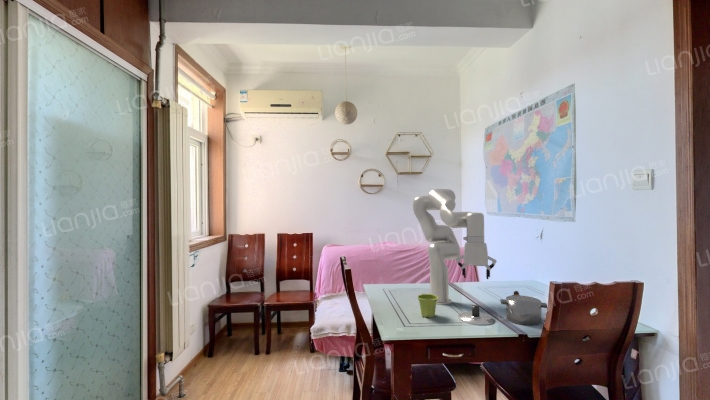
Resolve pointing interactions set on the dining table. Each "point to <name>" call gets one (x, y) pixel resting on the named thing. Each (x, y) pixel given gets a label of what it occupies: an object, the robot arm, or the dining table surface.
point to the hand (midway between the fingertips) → (475, 277)
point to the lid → (476, 317)
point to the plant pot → (427, 304)
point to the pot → (523, 310)
